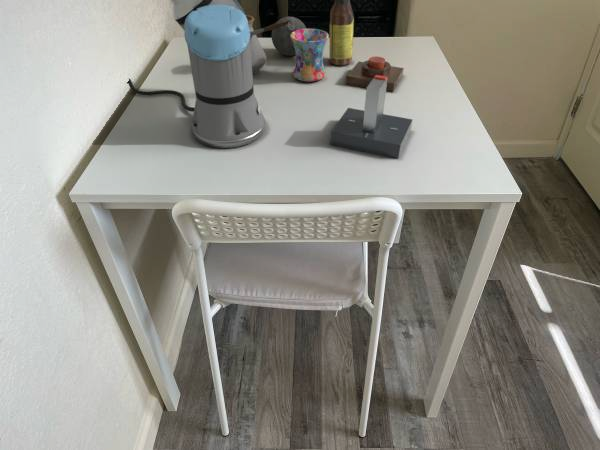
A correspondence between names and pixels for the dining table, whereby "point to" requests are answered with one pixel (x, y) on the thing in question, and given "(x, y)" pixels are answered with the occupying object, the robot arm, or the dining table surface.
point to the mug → (309, 54)
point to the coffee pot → (256, 50)
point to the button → (376, 62)
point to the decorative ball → (286, 36)
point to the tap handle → (374, 103)
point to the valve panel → (371, 134)
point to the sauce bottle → (341, 32)
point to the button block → (365, 75)
